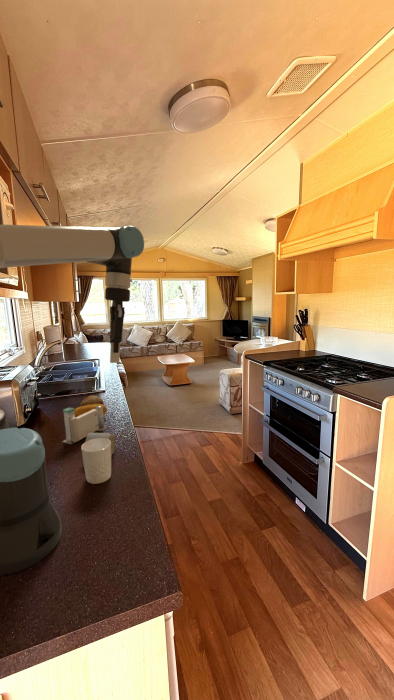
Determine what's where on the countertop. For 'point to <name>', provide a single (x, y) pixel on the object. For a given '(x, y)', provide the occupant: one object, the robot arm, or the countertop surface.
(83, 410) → the potato
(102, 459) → the white cup
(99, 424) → the gate posts
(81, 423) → the gate
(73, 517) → the countertop surface
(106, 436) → the ceramic mug
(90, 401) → the bread roll
